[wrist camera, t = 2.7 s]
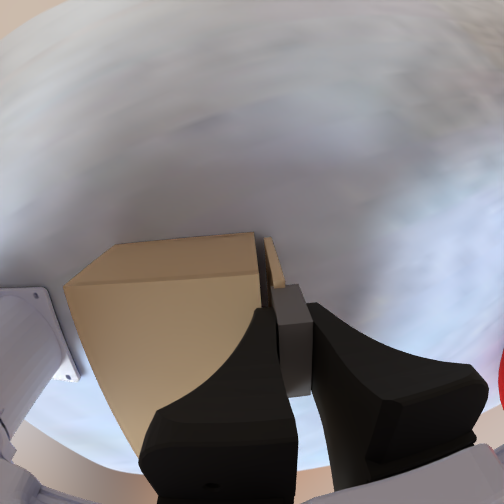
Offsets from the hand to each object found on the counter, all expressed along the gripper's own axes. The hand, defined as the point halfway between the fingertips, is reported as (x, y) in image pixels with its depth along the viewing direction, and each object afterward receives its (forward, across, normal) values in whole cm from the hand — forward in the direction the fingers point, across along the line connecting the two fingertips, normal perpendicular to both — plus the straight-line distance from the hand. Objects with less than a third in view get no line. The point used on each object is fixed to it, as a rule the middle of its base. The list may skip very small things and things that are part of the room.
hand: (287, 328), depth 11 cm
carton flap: (+6, 0, +4) cm, 7 cm away
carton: (+6, +5, +4) cm, 9 cm away
